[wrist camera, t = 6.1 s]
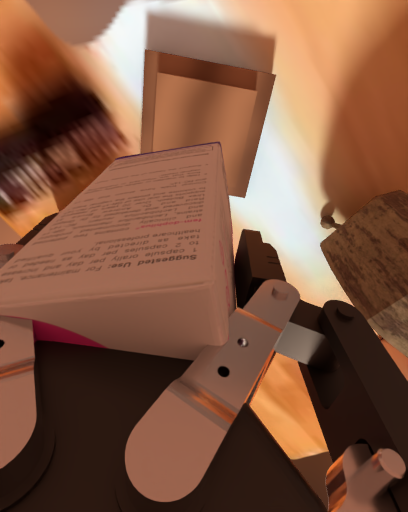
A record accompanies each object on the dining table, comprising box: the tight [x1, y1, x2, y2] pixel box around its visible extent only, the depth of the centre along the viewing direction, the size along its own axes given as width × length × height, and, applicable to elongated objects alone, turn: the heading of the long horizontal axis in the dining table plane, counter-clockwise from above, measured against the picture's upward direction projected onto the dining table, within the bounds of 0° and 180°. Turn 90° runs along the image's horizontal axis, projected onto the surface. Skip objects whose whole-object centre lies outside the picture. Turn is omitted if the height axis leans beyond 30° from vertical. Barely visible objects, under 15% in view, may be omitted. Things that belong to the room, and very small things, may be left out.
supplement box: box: [0, 141, 237, 360], centre depth 12 cm, size 6×6×12 cm
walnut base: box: [141, 49, 276, 198], centre depth 30 cm, size 12×12×4 cm
